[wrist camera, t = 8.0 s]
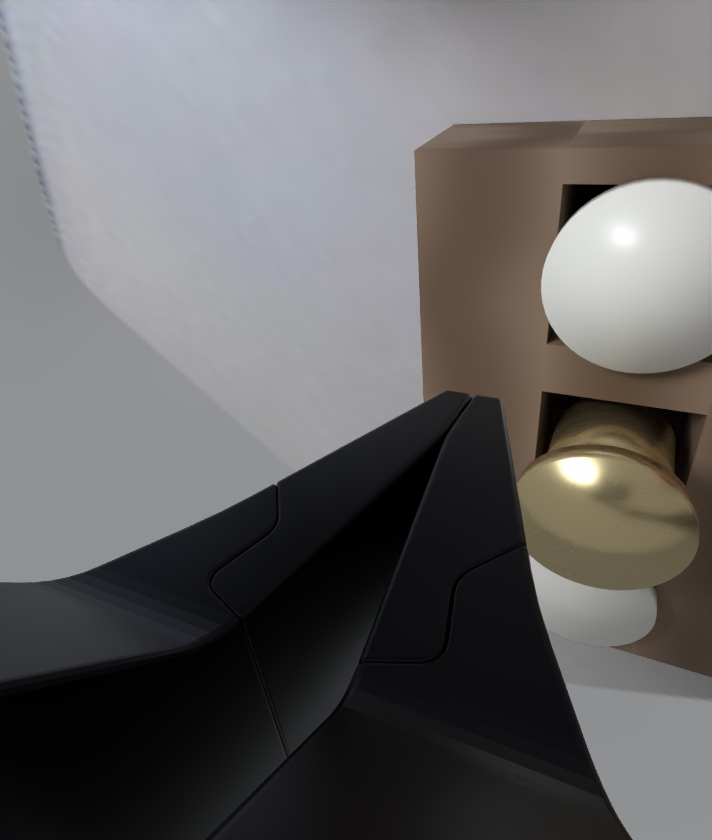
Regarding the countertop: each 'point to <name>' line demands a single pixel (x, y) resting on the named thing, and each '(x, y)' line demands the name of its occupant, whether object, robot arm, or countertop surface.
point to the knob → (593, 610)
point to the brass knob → (609, 499)
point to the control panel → (525, 316)
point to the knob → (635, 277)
